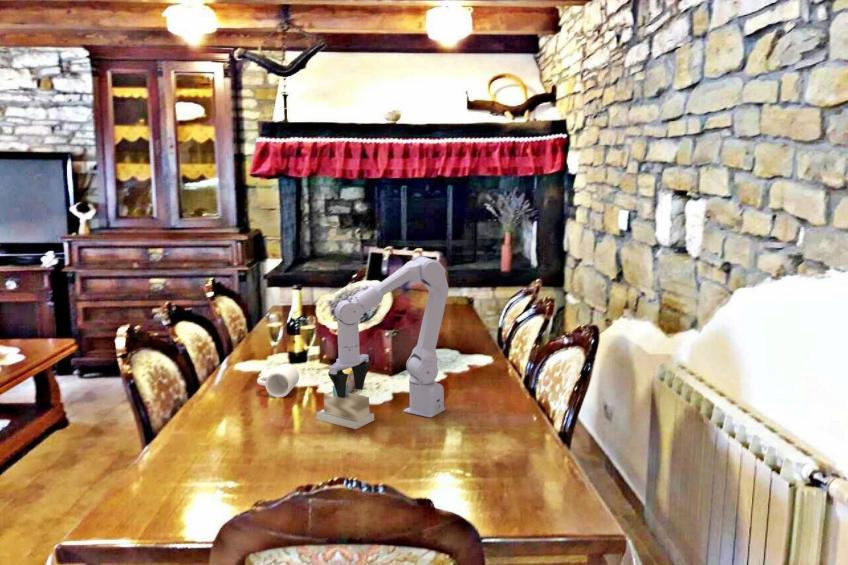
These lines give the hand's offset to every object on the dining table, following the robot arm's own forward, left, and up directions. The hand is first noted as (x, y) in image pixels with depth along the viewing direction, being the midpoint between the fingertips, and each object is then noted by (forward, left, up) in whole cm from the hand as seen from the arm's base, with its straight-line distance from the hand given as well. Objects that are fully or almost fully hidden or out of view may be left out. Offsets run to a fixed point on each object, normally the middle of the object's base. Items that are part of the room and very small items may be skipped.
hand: (350, 393), depth 195 cm
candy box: (+15, -17, -8) cm, 25 cm away
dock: (+2, 0, -8) cm, 8 cm away
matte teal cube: (+3, +1, -1) cm, 3 cm away
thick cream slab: (+2, 0, -6) cm, 6 cm away
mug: (+36, -7, -8) cm, 38 cm away
